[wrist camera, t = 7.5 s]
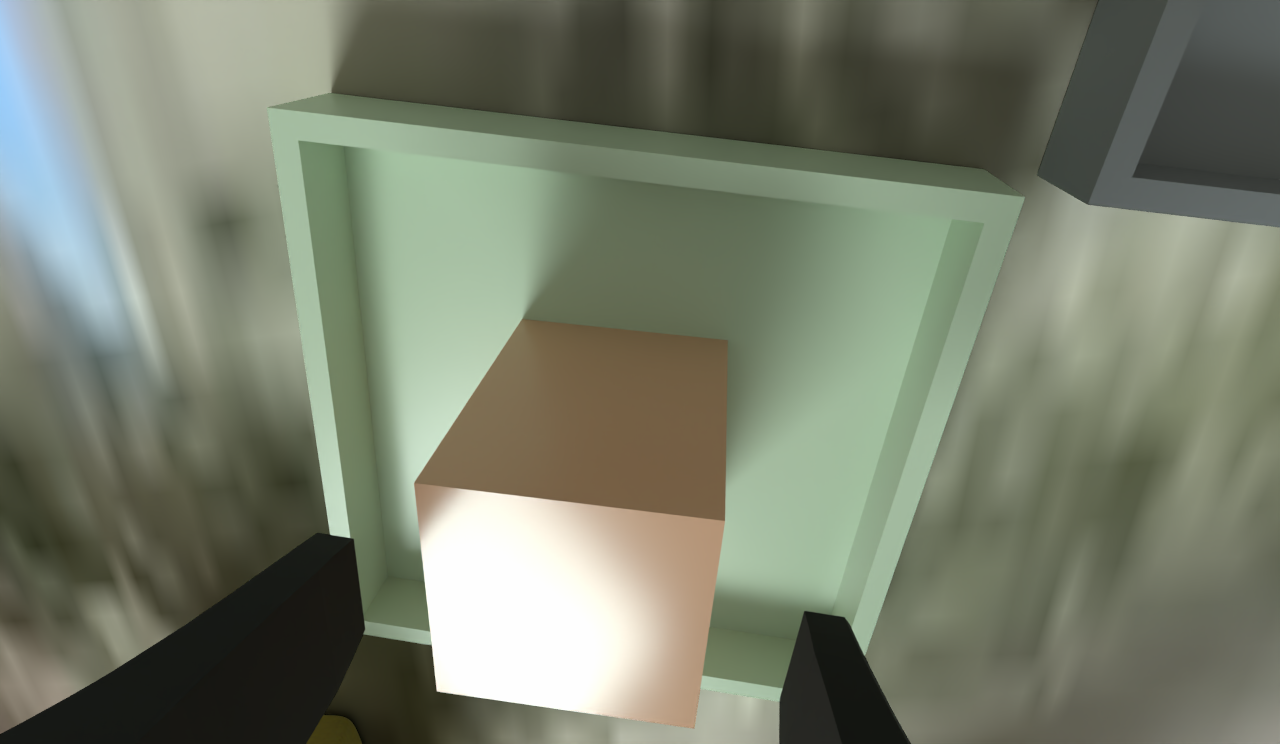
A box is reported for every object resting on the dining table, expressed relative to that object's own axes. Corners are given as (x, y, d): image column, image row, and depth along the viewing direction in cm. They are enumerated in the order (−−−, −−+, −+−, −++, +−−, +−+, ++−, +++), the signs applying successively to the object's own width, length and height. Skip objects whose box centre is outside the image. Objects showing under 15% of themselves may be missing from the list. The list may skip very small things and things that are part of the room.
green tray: (983, 169, 14) (1025, 197, 12) (834, 642, 20) (845, 712, 18) (329, 93, 14) (266, 107, 12) (381, 571, 20) (344, 631, 19)
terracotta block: (727, 340, 15) (724, 521, 10) (705, 506, 17) (694, 728, 12) (522, 319, 16) (413, 483, 10) (525, 485, 18) (436, 691, 12)
